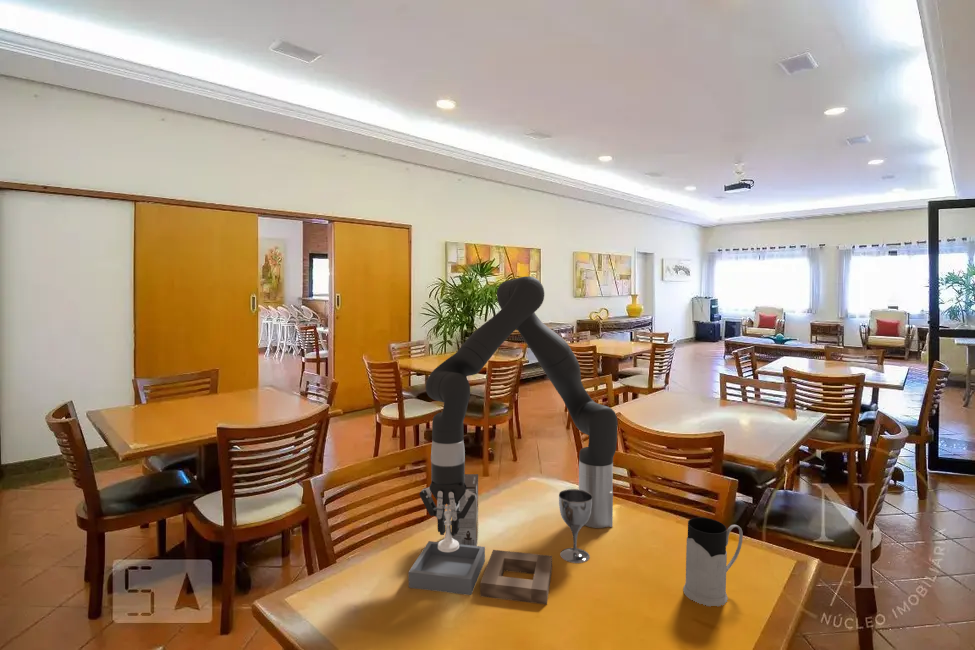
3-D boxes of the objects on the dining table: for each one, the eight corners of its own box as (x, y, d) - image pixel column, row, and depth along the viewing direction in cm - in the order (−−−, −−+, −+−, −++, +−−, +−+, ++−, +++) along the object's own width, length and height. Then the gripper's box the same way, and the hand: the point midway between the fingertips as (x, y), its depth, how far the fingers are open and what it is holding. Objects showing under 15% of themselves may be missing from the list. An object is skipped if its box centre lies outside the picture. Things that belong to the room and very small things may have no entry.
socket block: (552, 568, 117) (552, 555, 117) (546, 604, 103) (546, 590, 103) (493, 561, 120) (493, 549, 120) (480, 596, 106) (480, 582, 106)
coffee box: (454, 531, 135) (454, 473, 134) (478, 532, 135) (478, 473, 134) (451, 549, 126) (451, 486, 125) (477, 549, 126) (477, 486, 125)
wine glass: (553, 558, 121) (554, 498, 120) (564, 544, 128) (565, 486, 127) (585, 567, 117) (586, 504, 117) (595, 551, 125) (596, 492, 124)
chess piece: (456, 553, 112) (455, 509, 111) (434, 551, 113) (434, 507, 112) (461, 542, 116) (461, 500, 116) (441, 540, 117) (441, 498, 117)
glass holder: (674, 586, 110) (675, 519, 109) (724, 574, 115) (726, 509, 114) (704, 610, 101) (706, 538, 100) (757, 595, 106) (759, 526, 105)
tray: (484, 561, 120) (484, 546, 120) (471, 595, 107) (471, 579, 106) (429, 554, 123) (428, 541, 123) (408, 587, 109) (408, 571, 109)
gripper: (481, 456, 116) (481, 529, 117) (424, 452, 118) (424, 523, 119) (474, 467, 108) (474, 545, 109) (413, 462, 111) (413, 538, 112)
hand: (448, 533), depth 114 cm, fingers closed on chess piece
